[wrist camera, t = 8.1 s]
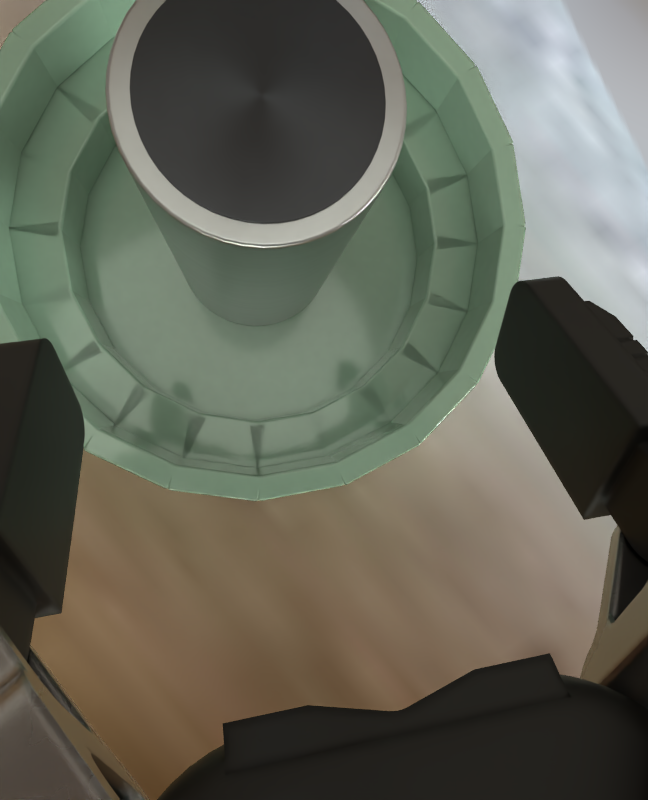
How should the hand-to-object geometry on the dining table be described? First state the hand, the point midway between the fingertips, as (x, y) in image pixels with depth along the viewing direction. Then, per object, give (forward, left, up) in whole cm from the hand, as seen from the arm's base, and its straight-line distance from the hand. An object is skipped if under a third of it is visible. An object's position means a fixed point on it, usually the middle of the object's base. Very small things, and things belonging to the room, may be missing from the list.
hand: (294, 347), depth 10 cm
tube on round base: (-6, +4, -9) cm, 12 cm away
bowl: (-3, +2, -10) cm, 11 cm away
